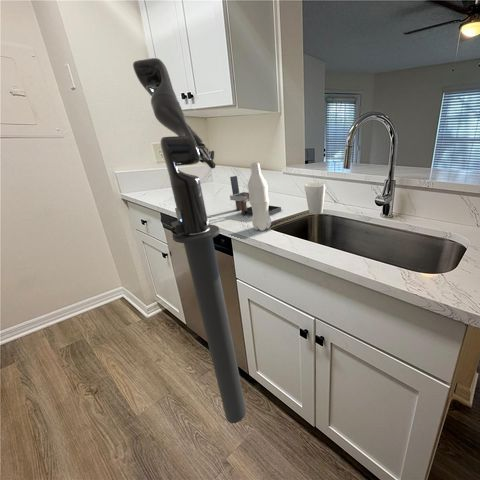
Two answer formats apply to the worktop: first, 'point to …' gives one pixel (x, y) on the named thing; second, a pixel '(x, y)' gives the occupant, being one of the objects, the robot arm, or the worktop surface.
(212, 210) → the worktop surface
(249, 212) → the tray
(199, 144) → the robot arm
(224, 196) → the worktop surface
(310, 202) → the foam cup
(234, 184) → the gray angle bracket
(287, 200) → the worktop surface
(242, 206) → the cradle
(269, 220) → the water bottle
